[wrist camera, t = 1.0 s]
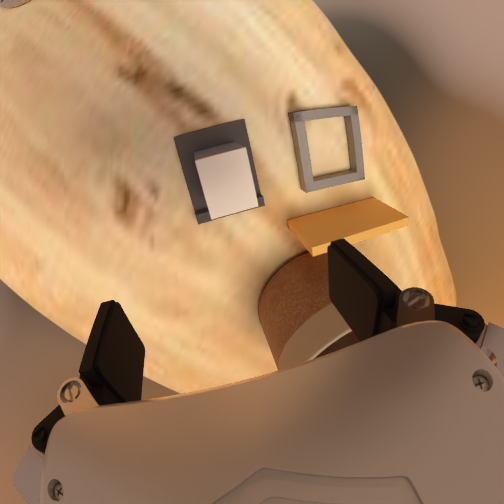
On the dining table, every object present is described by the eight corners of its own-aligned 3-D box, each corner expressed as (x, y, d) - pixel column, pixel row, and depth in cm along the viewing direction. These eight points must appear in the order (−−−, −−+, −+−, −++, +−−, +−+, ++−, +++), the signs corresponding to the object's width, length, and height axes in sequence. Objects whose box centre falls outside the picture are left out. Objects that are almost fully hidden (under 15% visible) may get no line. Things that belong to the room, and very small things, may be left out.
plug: (193, 152, 25) (194, 160, 19) (233, 141, 25) (245, 147, 20) (206, 198, 27) (211, 219, 22) (244, 188, 27) (258, 206, 22)
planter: (347, 225, 33) (418, 284, 21) (367, 305, 41) (415, 363, 29) (236, 285, 33) (264, 374, 21) (281, 353, 41) (311, 424, 29)
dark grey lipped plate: (174, 137, 24) (173, 138, 23) (243, 119, 25) (246, 119, 23) (197, 219, 28) (198, 224, 27) (261, 201, 29) (264, 205, 28)
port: (267, 116, 25) (292, 116, 19) (365, 105, 26) (405, 107, 20) (288, 228, 31) (312, 256, 25) (373, 204, 32) (408, 225, 26)
